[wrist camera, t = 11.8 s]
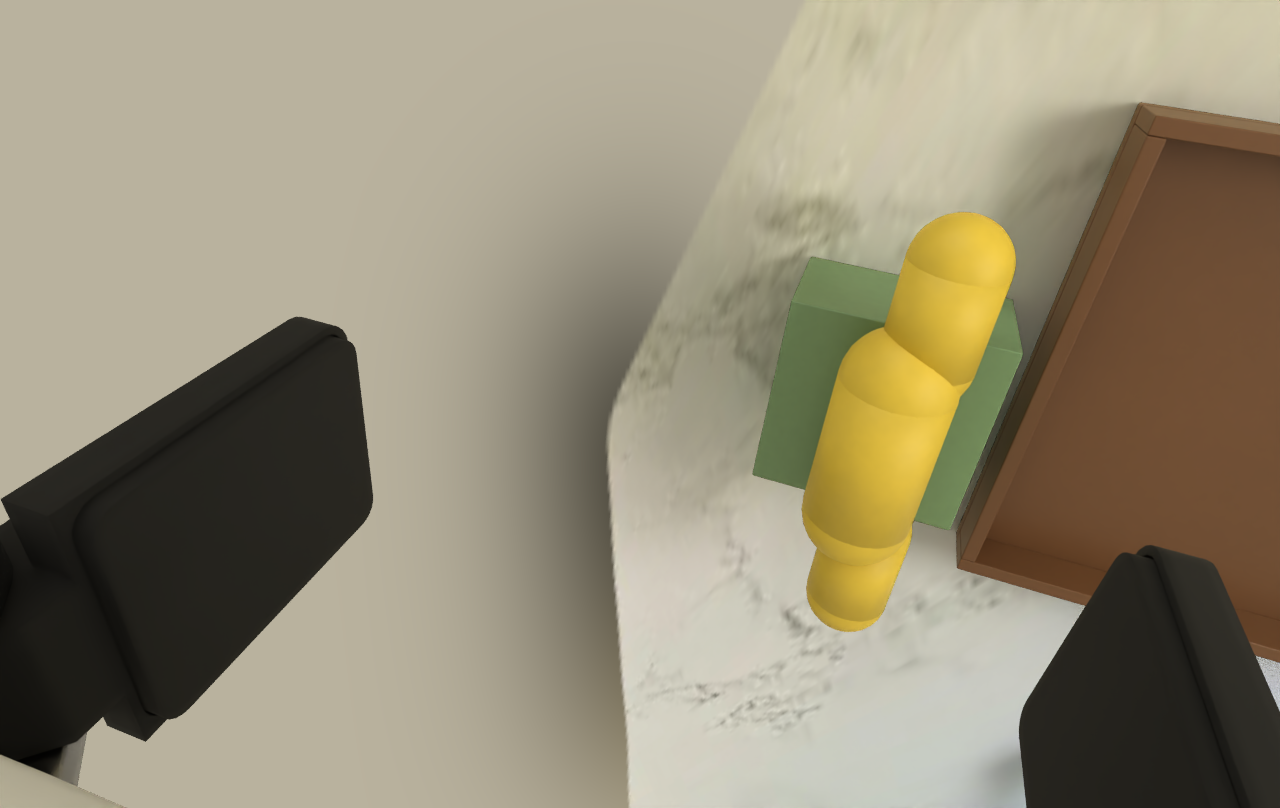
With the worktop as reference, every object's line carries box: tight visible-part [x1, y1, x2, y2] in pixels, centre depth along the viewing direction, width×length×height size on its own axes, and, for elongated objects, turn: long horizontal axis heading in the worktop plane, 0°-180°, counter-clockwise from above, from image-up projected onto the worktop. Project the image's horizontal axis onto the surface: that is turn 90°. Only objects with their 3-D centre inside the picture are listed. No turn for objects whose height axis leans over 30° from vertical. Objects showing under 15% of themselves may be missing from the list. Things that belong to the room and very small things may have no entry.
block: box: [753, 257, 1023, 530], centre depth 31 cm, size 8×8×5 cm
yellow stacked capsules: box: [802, 212, 1016, 632], centre depth 28 cm, size 17×4×4 cm, turn 174°
